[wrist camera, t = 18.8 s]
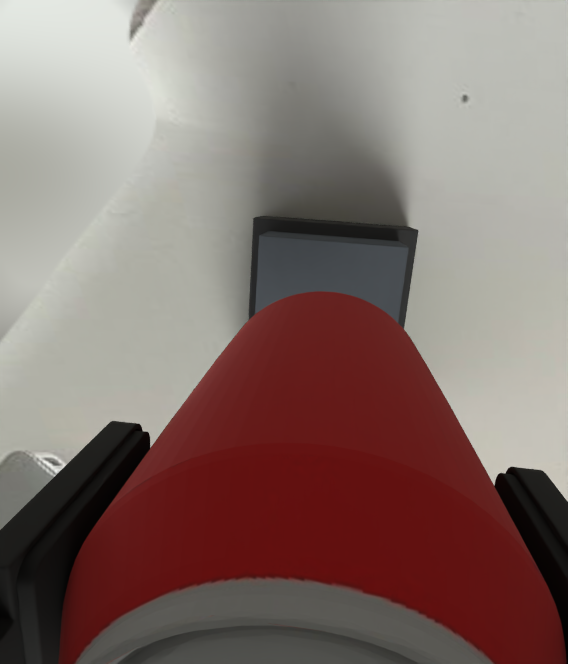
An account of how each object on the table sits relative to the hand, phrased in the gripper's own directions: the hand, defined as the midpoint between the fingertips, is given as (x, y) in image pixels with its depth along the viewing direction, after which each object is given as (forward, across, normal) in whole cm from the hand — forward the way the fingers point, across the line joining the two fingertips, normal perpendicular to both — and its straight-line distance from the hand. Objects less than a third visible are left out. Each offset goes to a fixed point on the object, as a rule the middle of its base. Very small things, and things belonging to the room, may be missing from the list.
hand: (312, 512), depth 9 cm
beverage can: (+7, 0, 0) cm, 7 cm away
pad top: (+15, 0, 0) cm, 15 cm away
